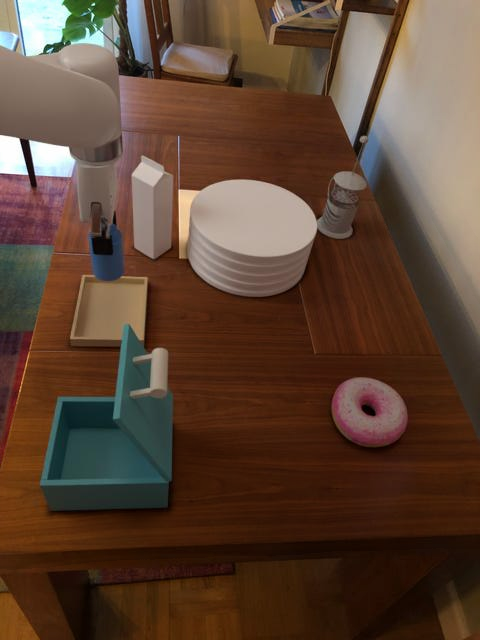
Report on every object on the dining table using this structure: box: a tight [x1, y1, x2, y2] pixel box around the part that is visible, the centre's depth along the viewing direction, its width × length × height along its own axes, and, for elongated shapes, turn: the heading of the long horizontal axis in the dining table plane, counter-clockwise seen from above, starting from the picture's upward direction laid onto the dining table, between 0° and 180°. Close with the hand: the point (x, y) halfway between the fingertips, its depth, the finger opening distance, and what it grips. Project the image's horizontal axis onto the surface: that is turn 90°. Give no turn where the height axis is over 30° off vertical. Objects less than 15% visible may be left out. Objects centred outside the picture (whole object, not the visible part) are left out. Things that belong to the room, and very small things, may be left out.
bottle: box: [87, 215, 125, 281], centre depth 82 cm, size 6×6×12 cm
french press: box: [316, 135, 369, 240], centre depth 116 cm, size 10×12×25 cm
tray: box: [69, 274, 149, 348], centre depth 94 cm, size 17×13×2 cm
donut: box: [330, 376, 409, 448], centre depth 84 cm, size 14×13×5 cm
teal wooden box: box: [39, 396, 170, 512], centre depth 71 cm, size 17×14×9 cm
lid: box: [113, 324, 174, 482], centre depth 62 cm, size 17×14×5 cm
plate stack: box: [187, 179, 318, 298], centre depth 108 cm, size 28×28×12 cm
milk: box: [131, 154, 174, 260], centre depth 102 cm, size 6×6×22 cm
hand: (105, 241), depth 81 cm, fingers closed on bottle, 5 cm apart
